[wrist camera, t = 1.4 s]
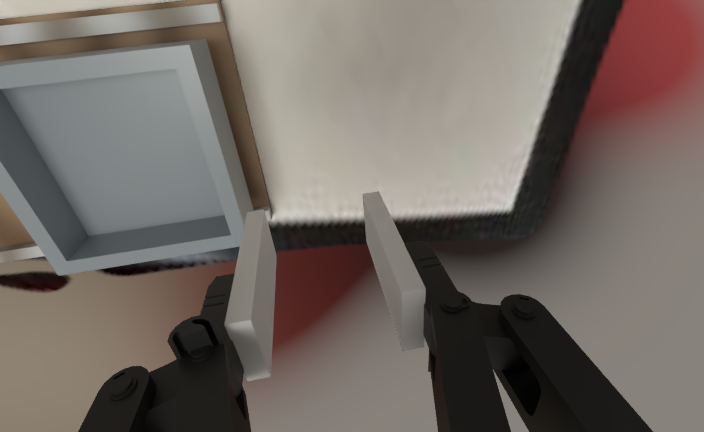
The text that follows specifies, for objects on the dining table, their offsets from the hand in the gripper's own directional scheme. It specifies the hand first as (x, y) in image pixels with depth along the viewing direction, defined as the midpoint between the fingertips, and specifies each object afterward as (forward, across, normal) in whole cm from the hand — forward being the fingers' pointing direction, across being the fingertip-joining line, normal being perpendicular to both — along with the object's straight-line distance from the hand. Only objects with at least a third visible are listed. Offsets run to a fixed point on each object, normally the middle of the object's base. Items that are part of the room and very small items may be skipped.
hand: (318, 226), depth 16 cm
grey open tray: (+19, -14, 0) cm, 23 cm away
